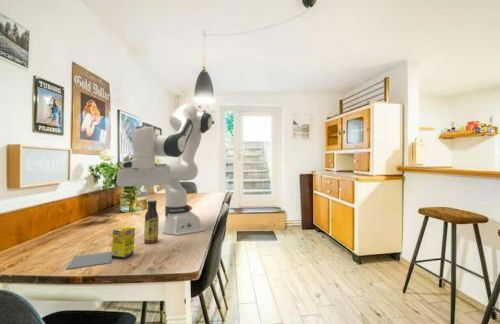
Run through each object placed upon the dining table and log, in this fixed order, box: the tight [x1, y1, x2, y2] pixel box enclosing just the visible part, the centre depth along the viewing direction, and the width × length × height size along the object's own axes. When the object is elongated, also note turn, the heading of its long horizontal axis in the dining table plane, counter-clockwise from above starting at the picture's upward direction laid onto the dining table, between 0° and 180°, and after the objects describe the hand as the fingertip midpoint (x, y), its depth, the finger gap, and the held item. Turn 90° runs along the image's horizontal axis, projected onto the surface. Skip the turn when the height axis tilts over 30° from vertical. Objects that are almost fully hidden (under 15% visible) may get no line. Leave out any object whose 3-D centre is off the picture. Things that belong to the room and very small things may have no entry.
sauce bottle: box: [143, 199, 159, 244], centre depth 115 cm, size 7×6×20 cm
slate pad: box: [65, 251, 114, 271], centre depth 94 cm, size 14×12×1 cm
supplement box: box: [111, 226, 136, 259], centre depth 98 cm, size 6×6×11 cm
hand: (143, 196), depth 101 cm, fingers closed
